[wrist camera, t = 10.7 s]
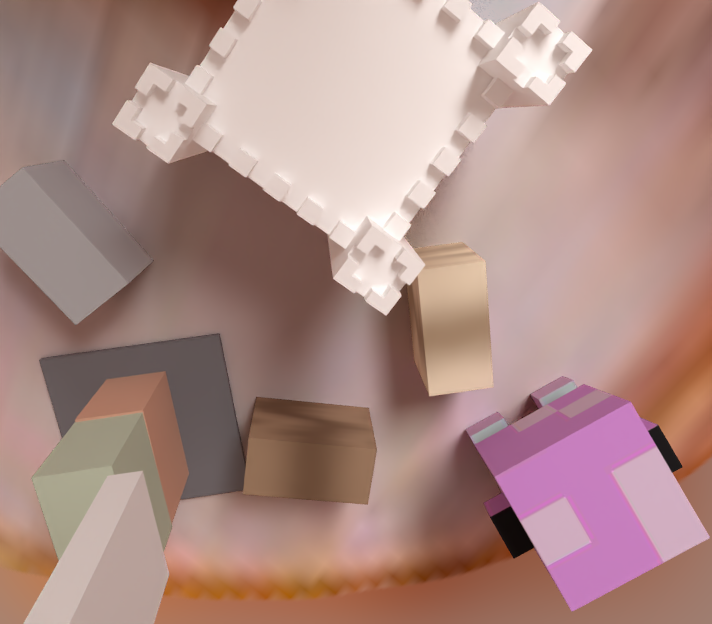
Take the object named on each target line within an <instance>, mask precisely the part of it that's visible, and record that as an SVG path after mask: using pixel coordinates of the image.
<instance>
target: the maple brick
mask: <svg viewBox="0 0 712 624" xmlns="http://www.w3.org/2000/svg"><path fill="white" fill-rule="evenodd" d="M414 250H415V252H416V253H417V254H418V256H419V257H420V258H421V260H422V261H423V262H424V263H425V266H424V268H423V269H422V270H421V272H420V273H419V274H418V275H417V277H416V278H415V279H414V281H413V282H412V283H411V284H410V285H408V284H407V283H406V285H407V295H408V304H409V314H410V324H411V333H412V343H413V353H414V361H415V364H416V366H417V368H418V371H419V373H420V376H421V378H422V380H423V383H424V385H425V387H426V390H427V392H428V395H429V396H436V395H443V394H450V393H457V392H464V391H471V390H478V389H485V388H492V387H493V372H492V356H491V340H490V324H489V308H488V293H487V277H486V261H485V260H483V259H482V258H481V257H480V256H479V255H477V254H476V253H475V252H474V251H473V250H471V249H470V248H469V247H468V246H466V245H465V244H464V243H463V242H458V243H451V244H444V245H436V246H429V247H422V248H414Z"/></svg>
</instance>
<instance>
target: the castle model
mask: <svg viewBox="0 0 712 624" xmlns="http://www.w3.org/2000/svg"><path fill="white" fill-rule="evenodd" d="M471 6H472V4H471V3H470V2H469V1H468V0H237V2H236V3H235V5H234V7H233V8H234V10H235V11H234V13H233V14H232V16H231V17H230V19H229V21H228V22H227V24H226V25H225V27H224V28H222V27H220V29H219V30H218V32H217V33H216V35H215V37H214V38H213V40H212V41H211V43H210V44H209V47H211V49H210V50H209V52H208V54H207V55H206V57H205V58H204V60H203V61H202V63H201V65H200V66H199V65H196V66H195V68H194V70H193V71H192V73H191V74H190V76H188V75H185V74H182V73H179V72H176V71H173V70H171V69H168V68H165V67H162V66H159V65H156V64H153V63H149V65H148V66H147V68H146V70H145V71H144V73H143V74H142V76H141V78H140V79H139V81H138V83H137V84H136V86H135V87H134V88H136V89H137V90H138V91H137V93H136V94H135V96H134V98H133V99H132V100H126V102H125V104H124V105H123V107H122V108H121V110H120V112H119V113H118V115H117V117H116V118H115V120H114V121H113V123H112V125H113V126H115V127H116V128H118V129H119V130H121V131H122V132H123V133H125V134H126V135H128V136H129V137H131V138H132V139H133V140H140V141H142V142H143V143H145V144H146V145H148V146H147V147H146V149H148V150H149V151H151V152H152V153H154V154H155V155H156V156H158V157H159V158H161V159H162V160H164V161H165V162H166V163H168V164H169V163H172V162H175V161H178V160H182V159H185V158H188V157H191V156H194V155H197V154H201V153H204V152H207V151H209V152H210V153H211V152H213V153H215V154H216V155H217V156H219V157H220V158H222V159H223V160H224V161H226V162H227V163H229V166H230V167H231V168H233V169H234V170H236V171H237V172H238V173H240V174H241V175H243V176H244V177H245V178H246V177H248V178H250V179H251V180H252V181H254V182H255V183H257V184H258V185H259V186H261V187H262V188H264V189H263V191H265V192H266V193H268V194H269V195H270V196H272V197H273V198H275V199H276V200H277V201H279V202H280V201H282V202H283V203H285V204H286V205H287V206H289V207H290V208H292V209H293V210H294V211H296V212H297V215H298V216H300V217H301V218H303V219H304V220H305V221H307V222H308V223H310V224H311V225H312V226H313V225H315V226H317V227H318V228H319V229H321V230H322V231H324V232H325V233H326V234H327V237H328V244H329V252H330V260H331V267H332V275H333V279H334V280H335V281H337V282H338V283H340V284H341V285H343V286H344V287H345V288H347V289H348V290H350V291H351V292H353V293H354V294H355V293H356V292H358V293H359V294H361V295H362V296H363V297H364V299H365V301H366V302H367V303H368V304H370V305H371V306H373V307H374V308H376V309H377V310H378V311H380V312H381V313H383V314H384V315H387V314H388V313H389V312H390V310H391V309H392V308H393V306H394V305H395V304H396V302H397V301H398V300H399V299H400V297H401V296H402V295H401V293H400V290H401V289H402V288H403V286H404V285H405V284H406V283H407V284H408V285H410V284H411V283H412V282H413V281H414V279H415V278H416V277H417V275H418V274H419V273H420V272H421V270H422V269H423V268H424V266H425V263H424V262H423V261H422V260H421V258H420V257H419V256H418V254H417V253H416V252H415V250H414V249H413V248H412V247H411V245H410V244H409V243H408V241H407V240H406V239H405V238H404V235H405V233H406V232H407V231H408V229H409V228H410V227H411V224H410V221H411V220H412V219H413V217H414V216H415V215H416V213H417V212H418V211H419V209H420V208H423V209H424V208H425V207H426V206H427V204H428V203H429V202H430V200H431V199H432V198H433V196H434V195H435V194H436V193H435V192H434V190H435V188H436V187H437V186H438V184H439V183H440V182H441V180H442V179H443V178H444V176H445V175H446V176H449V175H450V174H451V173H452V171H453V170H454V169H455V167H456V166H457V165H458V163H459V162H460V161H461V159H460V158H459V156H460V155H461V154H462V153H463V151H464V150H465V149H466V147H467V146H468V145H469V143H470V142H472V143H474V142H475V141H476V140H477V138H478V137H479V136H480V134H481V133H482V132H483V130H484V129H485V128H486V127H487V125H486V124H484V123H485V122H486V121H487V119H488V118H489V117H490V116H491V114H492V113H493V112H494V110H495V109H498V108H509V107H527V106H546V105H550V104H551V103H552V101H553V100H554V99H555V97H556V96H557V95H558V94H559V92H560V91H561V90H562V88H563V87H564V86H565V85H566V83H565V82H564V81H563V79H564V78H565V77H566V76H567V74H568V73H574V72H576V70H577V69H578V68H579V67H580V65H581V64H582V63H583V61H584V60H585V59H586V58H587V56H588V55H589V54H590V52H591V51H592V49H591V48H590V47H589V46H588V45H586V44H585V43H584V42H583V41H582V40H581V39H580V38H579V37H578V36H576V35H575V34H574V33H573V32H572V31H569V32H567V33H564V32H563V31H561V30H560V29H559V28H558V27H557V25H558V24H559V23H560V20H559V19H558V18H557V17H555V16H554V15H553V14H552V13H551V12H550V11H549V10H548V9H547V8H545V7H544V6H543V5H542V4H541V3H540V2H537V3H535V4H533V5H531V6H529V7H527V8H525V9H524V10H522V11H520V12H518V13H516V14H514V15H512V16H510V17H508V18H506V19H504V20H502V21H500V22H498V23H496V24H494V23H493V22H492V21H491V20H490V19H487V20H486V21H484V20H482V19H481V18H480V17H479V16H478V15H477V14H476V13H474V12H473V11H472V10H471V9H470V7H471Z"/></svg>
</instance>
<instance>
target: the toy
mask: <svg viewBox="0 0 712 624" xmlns="http://www.w3.org/2000/svg"><path fill="white" fill-rule="evenodd" d="M530 395H531V397H532V398H533V400H534V402H535V404H536V405H537V407H538V410H536V411H534V412H533V413H531V414H529V415H527V416H525V417H524V418H522V419H520V420H518V421H516V422H515V423H513V424H511V425H509V426H508V424H507V423H506V421H505V419H504V418H503V417H502V416H501V415H500V414H499V413H498V412H496V413H494V414H493V415H491V416H489V417H487V418H485V419H484V420H482V421H480V422H478V423H476V424H475V425H473V426H471V427H469V428H467V429H466V431H467V433H468V435H469V437H470V438H471V440H472V442H473V444H474V445H475V447H476V449H477V451H478V452H479V454H480V456H481V458H482V459H483V461H484V463H485V464H486V466H487V468H488V469H489V470H490V472H491V474H492V476H493V477H494V479H495V481H496V482H497V484H498V488H499V489H500V491H501V493H500V494H499V495H497V496H495V497H493V498H491V499H489V500H488V501H486V502H484V505H485V508H486V510H487V512H488V514H489V516H490V518H491V520H492V521H493V523H494V525H495V527H496V528H497V530H498V532H499V534H500V535H501V537H502V539H503V541H504V542H505V544H506V546H507V548H508V549H509V551H510V553H511V555H512V556H513V558H516V557H518V556H520V555H521V554H523V553H525V552H527V551H529V550H531V549H532V548H534V549H535V550H536V552H537V554H538V555H539V557H540V559H541V561H542V562H543V564H544V566H545V567H546V569H547V571H548V572H549V574H550V575H551V577H552V579H553V581H554V582H555V584H556V586H557V587H558V589H559V591H560V592H561V594H562V596H563V597H564V599H565V601H566V602H567V604H568V605H569V607H570V609H571V610H572V611H574V610H576V609H578V608H580V607H581V606H583V605H585V604H587V603H589V602H591V601H593V600H595V599H597V598H598V597H600V596H602V595H604V594H606V593H608V592H610V591H611V590H613V589H615V588H617V587H619V586H621V585H623V584H625V583H626V582H628V581H630V580H632V579H634V578H636V577H638V576H639V575H641V574H643V573H645V572H647V571H649V570H651V569H653V568H654V567H656V566H658V565H660V564H662V563H664V562H666V561H668V560H669V559H671V558H673V557H675V556H677V555H679V554H681V553H682V552H684V551H686V550H688V549H690V548H692V547H694V546H695V545H697V544H699V543H701V542H703V541H705V540H707V539H709V538H710V537H709V535H708V534H707V532H706V530H705V529H704V527H703V525H702V523H701V522H700V520H699V518H698V517H697V515H696V513H695V512H694V510H693V508H692V506H691V504H690V503H689V501H688V500H687V498H686V496H685V494H684V492H683V491H682V489H681V487H680V486H679V484H678V482H677V480H676V479H675V477H674V475H673V474H672V472H674V471H676V470H678V469H680V468H682V465H681V463H680V461H679V460H678V458H677V456H676V455H675V453H674V451H673V450H672V448H671V446H670V444H669V443H668V441H667V439H666V438H665V436H664V434H663V432H662V431H661V429H660V427H659V426H658V425H657V424H655V423H652V422H650V421H648V420H645V419H643V418H640V417H639V415H638V414H637V412H636V410H635V408H634V407H633V405H632V403H631V402H630V401H627V400H625V399H622V398H619V397H617V396H614V395H611V394H609V393H606V392H603V391H601V390H598V389H595V388H593V387H590V386H587V385H585V384H583V385H581V386H579V387H578V388H577V386H576V384H575V382H574V381H573V380H571V379H569V378H566V377H563V376H562V377H560V378H559V379H557V380H555V381H553V382H551V383H550V384H548V385H546V386H544V387H542V388H541V389H539V390H537V391H535V392H533V393H532V394H530Z"/></svg>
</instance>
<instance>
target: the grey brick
mask: <svg viewBox="0 0 712 624" xmlns="http://www.w3.org/2000/svg"><path fill="white" fill-rule="evenodd" d="M0 248H1V249H2V250H3V251H4V252H5V253H6V254H7V255H8V256H9V257H10V258H11V259H12V260H13V261H14V262H15V263H16V264H17V265H18V266H19V267H20V268H21V269H22V270H23V271H24V272H25V273H26V275H27V276H28V277H29V278H30V279H31V280H32V281H33V282H34V283H35V284H36V285H37V286H38V287H39V288H40V289H41V290H42V291H43V292H44V293H45V294H46V295H47V296H48V297H49V298H50V299H51V300H52V301H53V302H54V303H55V304H56V305H57V306H58V308H59V309H60V310H61V311H62V312H63V313H64V314H65V315H66V316H67V317H68V318H69V319H70V320H71V321H72V322H73V323H74V324H75V325H77V324H78V323H79V322H81V321H82V320H83V319H84V318H86V317H87V316H88V315H89V314H91V313H92V312H93V311H94V310H96V309H97V308H98V307H99V306H101V305H102V304H103V303H104V302H106V301H107V300H108V299H109V298H111V297H112V296H113V295H115V294H116V293H117V292H118V291H120V290H121V289H122V288H123V287H125V286H126V285H127V284H128V283H129V282H131V281H132V280H133V279H134V278H135V277H136V276H137V275H138V274H139V273H141V272H142V271H143V270H144V269H145V268H146V267H147V266H148V265H149V264H151V263H152V262H153V261H154V260H153V259H152V258H151V257H150V256H149V255H148V254H147V253H146V252H145V250H144V249H143V248H142V247H141V246H140V245H139V244H138V243H137V241H136V240H135V239H134V238H133V237H132V236H131V235H130V234H129V232H128V231H127V230H126V229H125V228H124V227H123V226H122V225H121V223H120V222H119V221H118V220H117V219H116V218H115V217H114V216H113V214H112V213H111V212H110V211H109V210H108V209H107V208H106V207H105V205H104V204H103V203H102V202H101V201H100V200H99V199H98V198H97V197H96V195H95V194H94V193H93V192H92V191H91V190H90V189H89V188H88V186H87V185H86V184H85V183H84V182H83V181H82V180H81V179H80V177H79V176H78V175H77V174H76V173H75V172H74V171H73V170H72V168H71V167H70V166H69V165H68V164H67V163H66V162H65V161H64V160H63V161H57V162H51V163H45V164H39V165H33V166H27V167H22V168H21V169H20V170H19V171H17V172H16V173H15V174H14V175H13V176H12V177H10V178H9V179H8V180H7V181H6V182H4V183H3V184H2V185H1V186H0Z"/></svg>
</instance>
